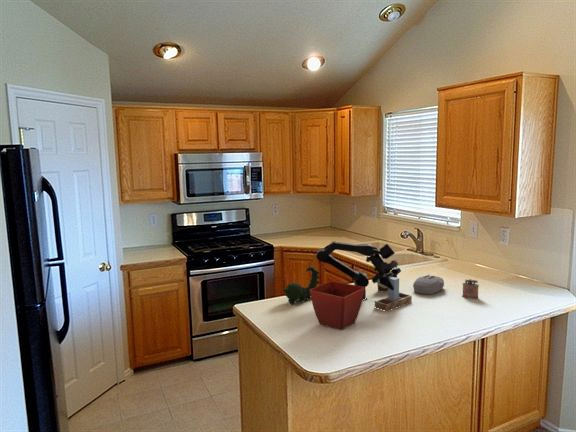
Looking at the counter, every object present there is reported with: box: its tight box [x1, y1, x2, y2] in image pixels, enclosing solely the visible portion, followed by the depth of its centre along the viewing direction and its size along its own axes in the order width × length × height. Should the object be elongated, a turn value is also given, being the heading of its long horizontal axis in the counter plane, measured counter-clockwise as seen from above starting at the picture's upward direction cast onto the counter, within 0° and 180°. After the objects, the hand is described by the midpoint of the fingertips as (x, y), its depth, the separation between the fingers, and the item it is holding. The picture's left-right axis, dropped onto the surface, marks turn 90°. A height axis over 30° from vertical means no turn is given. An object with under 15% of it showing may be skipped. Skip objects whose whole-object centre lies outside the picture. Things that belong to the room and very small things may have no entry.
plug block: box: [387, 277, 400, 301], centre depth 218 cm, size 4×4×12 cm
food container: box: [376, 274, 388, 291], centre depth 243 cm, size 12×6×10 cm, turn 84°
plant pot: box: [310, 280, 366, 330], centre depth 196 cm, size 19×19×17 cm
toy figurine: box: [282, 266, 320, 304], centre depth 228 cm, size 9×19×25 cm
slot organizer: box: [374, 291, 413, 312], centre depth 219 cm, size 21×8×4 cm, turn 130°
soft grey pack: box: [412, 274, 445, 295], centre depth 241 cm, size 15×8×20 cm
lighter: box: [461, 278, 480, 300], centre depth 228 cm, size 8×3×10 cm, turn 62°
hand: (395, 288), depth 217 cm, fingers closed on plug block, 4 cm apart
